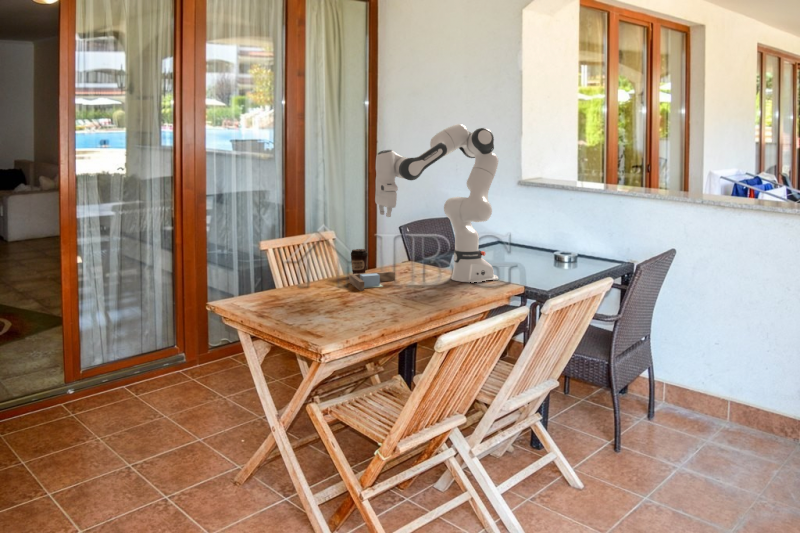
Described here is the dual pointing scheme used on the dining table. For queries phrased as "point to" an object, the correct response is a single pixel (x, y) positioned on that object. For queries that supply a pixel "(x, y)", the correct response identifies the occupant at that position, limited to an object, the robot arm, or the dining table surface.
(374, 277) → the block
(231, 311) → the dining table surface
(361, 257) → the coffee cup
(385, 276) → the brown l-shaped corner fence
